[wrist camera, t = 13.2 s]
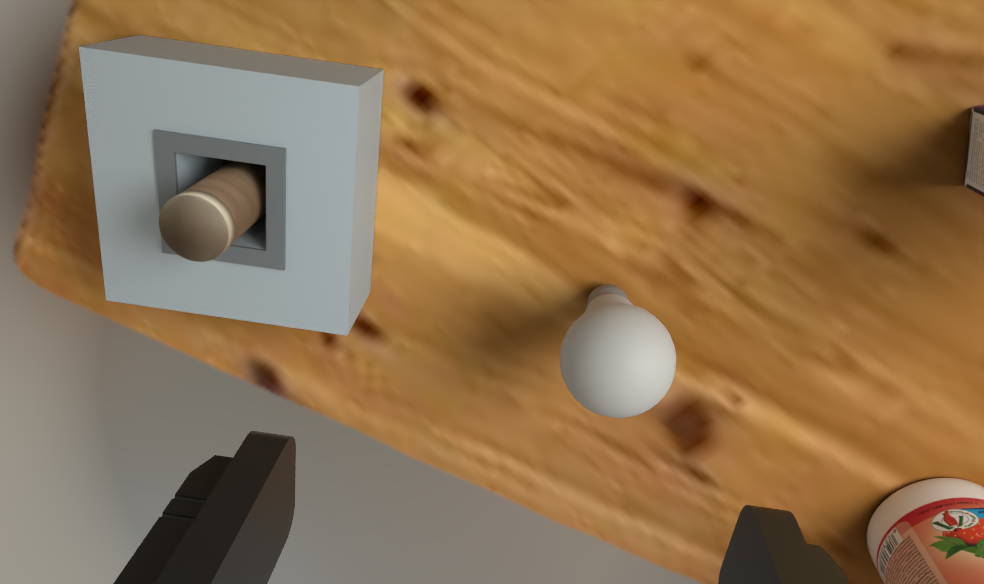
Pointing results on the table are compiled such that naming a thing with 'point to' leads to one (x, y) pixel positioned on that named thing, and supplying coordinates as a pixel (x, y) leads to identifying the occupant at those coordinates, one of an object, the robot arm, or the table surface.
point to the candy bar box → (976, 152)
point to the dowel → (214, 211)
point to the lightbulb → (617, 356)
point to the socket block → (245, 138)
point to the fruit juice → (930, 534)
